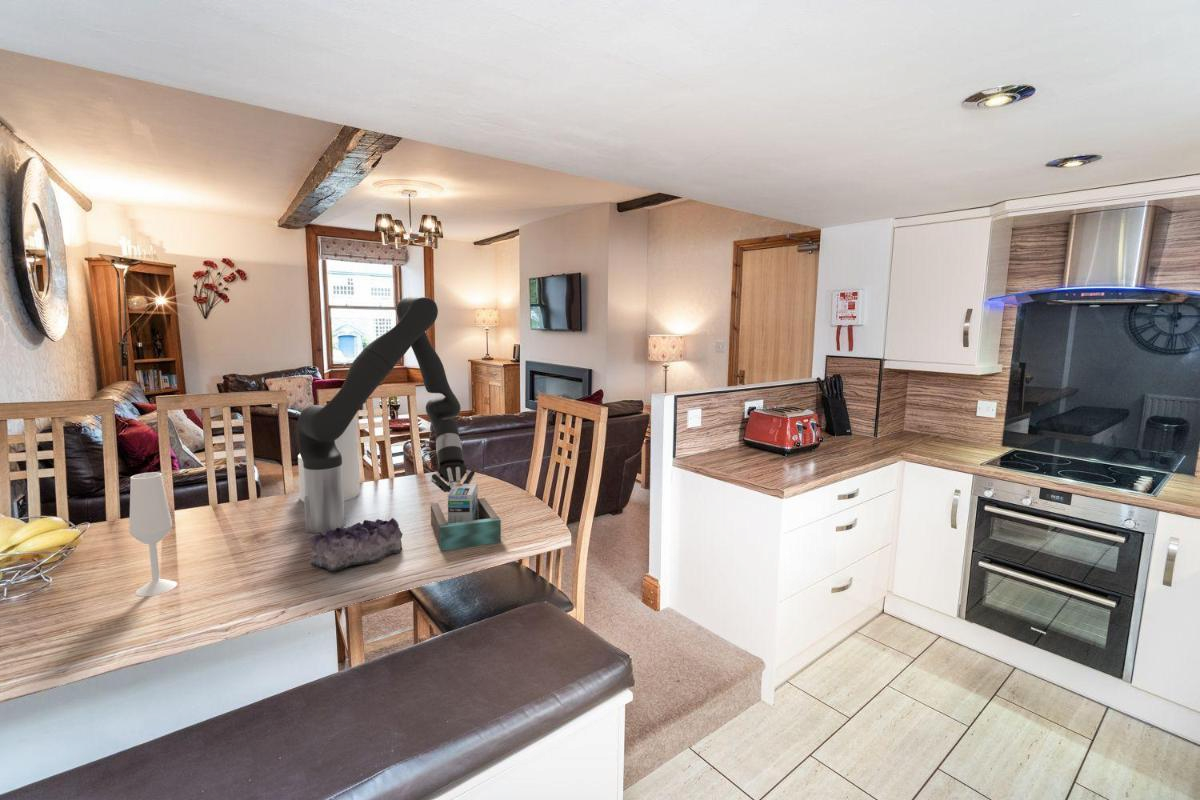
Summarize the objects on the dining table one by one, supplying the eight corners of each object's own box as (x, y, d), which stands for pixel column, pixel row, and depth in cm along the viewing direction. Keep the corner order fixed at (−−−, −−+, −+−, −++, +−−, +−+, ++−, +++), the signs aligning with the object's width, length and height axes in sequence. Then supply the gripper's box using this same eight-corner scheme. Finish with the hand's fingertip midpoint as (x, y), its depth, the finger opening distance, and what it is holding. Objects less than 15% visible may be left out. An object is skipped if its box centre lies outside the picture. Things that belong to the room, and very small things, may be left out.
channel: (440, 550, 131) (440, 527, 131) (431, 524, 149) (430, 503, 148) (500, 542, 138) (500, 519, 137) (484, 517, 155) (484, 497, 154)
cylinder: (371, 493, 175) (368, 408, 171) (320, 507, 160) (315, 415, 156) (340, 484, 184) (336, 403, 180) (289, 496, 169) (284, 409, 165)
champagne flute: (180, 588, 110) (171, 475, 107) (138, 599, 105) (126, 482, 102) (173, 577, 115) (164, 469, 112) (132, 588, 110) (121, 475, 107)
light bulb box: (473, 533, 143) (472, 494, 142) (447, 533, 142) (446, 494, 141) (478, 519, 154) (478, 482, 152) (454, 519, 153) (454, 483, 151)
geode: (390, 540, 138) (392, 504, 136) (409, 560, 130) (412, 522, 128) (303, 559, 124) (305, 519, 122) (319, 583, 116) (321, 541, 114)
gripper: (427, 446, 157) (434, 499, 147) (473, 443, 162) (482, 494, 153) (425, 459, 162) (432, 511, 153) (469, 456, 168) (478, 506, 158)
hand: (457, 502), depth 153 cm, fingers closed
